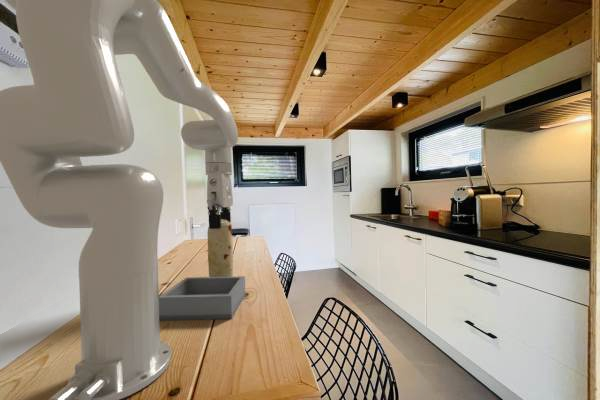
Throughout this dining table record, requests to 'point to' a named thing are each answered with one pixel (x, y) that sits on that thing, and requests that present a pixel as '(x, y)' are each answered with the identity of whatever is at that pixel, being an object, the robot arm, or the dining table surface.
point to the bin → (202, 298)
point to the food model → (220, 250)
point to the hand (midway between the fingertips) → (220, 226)
